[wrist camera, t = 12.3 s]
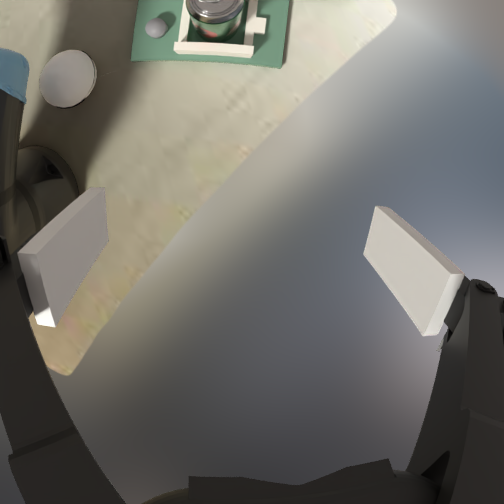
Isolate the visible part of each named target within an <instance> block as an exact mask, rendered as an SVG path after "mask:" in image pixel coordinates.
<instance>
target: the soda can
mask: <svg viewBox="0 0 504 504" xmlns="http://www.w3.org/2000/svg"><path fill="white" fill-rule="evenodd" d="M244 4H245V0H186V8H187V11H188V13H189V15H190V18H191V20H192V23H193V25H194V27H195V30H196V32H197V34H198V35H199V37H200V38H202V39H203V40H204V41H207V42H209V43H223V42H226V41H228V40H230V39H231V38H232V37H234V35H235V34H236V33H237V31H238V28H239V24H240V20H241V16H242V12H243V8H244Z"/></svg>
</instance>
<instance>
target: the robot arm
mask: <svg viewBox="0 0 504 504" xmlns="http://www.w3.org/2000/svg"><path fill="white" fill-rule="evenodd" d="M28 76H29V63H28V61H27V59H26V58H25V57H24V56H23V55H22V54H20V53H18V52H15V51H12V50H8V49H4V48H0V413H1V416H2V420H3V423H4V426H5V429H6V432H7V435H8V438H9V441H10V444H11V446H12V450H13V454H11V455H9V459H8V460H9V464H10V467H11V470H12V473H13V476H14V478H15V481H16V483H17V485H18V488H19V490H20V492H21V494H22V496H23V498H24V501H25V503H26V504H126V503H125V501H124V500H123V499H122V497H121V496H120V495H119V493H118V492H117V491H116V489H115V488H114V486H113V485H112V484H111V482H110V481H109V479H108V478H107V476H106V475H105V473H104V472H103V471H102V469H101V467H100V466H99V464H98V463H97V461H96V460H95V459H94V457H93V455H92V453H91V452H90V450H89V448H88V447H87V445H86V444H85V442H84V440H83V438H82V436H81V435H80V433H79V431H78V429H77V428H76V426H75V424H74V422H73V420H72V419H71V416H70V415H69V413H68V411H67V409H66V407H65V405H64V403H63V401H62V399H61V397H60V395H59V393H58V390H57V388H56V386H55V384H54V382H53V380H52V377H51V375H50V373H49V371H48V368H47V366H46V364H45V361H44V359H43V356H42V354H41V351H40V349H39V346H38V344H37V341H36V338H35V336H34V333H33V330H32V327H31V325H30V322H29V319H28V318H29V316H30V315H31V313H32V312H34V315H35V318H36V321H37V324H39V325H45V326H51V327H56V326H57V324H58V322H59V320H60V318H61V317H62V315H63V313H64V311H65V310H66V308H67V306H68V304H69V303H70V301H71V299H72V298H73V296H74V294H75V293H76V291H77V289H78V288H79V286H80V284H81V283H82V281H83V280H84V278H85V276H86V275H87V273H88V272H89V270H90V268H91V267H92V265H93V264H94V262H95V261H96V259H97V258H98V256H99V255H100V253H101V252H102V250H103V248H104V247H105V246H106V244H107V243H108V241H109V239H108V228H107V216H106V201H105V187H90V188H89V189H88V190H87V191H85V192H84V193H83V194H82V195H80V196H79V192H78V187H77V183H76V180H75V177H74V175H73V173H72V171H71V169H70V168H69V166H68V165H67V163H66V162H65V161H64V160H63V159H62V158H61V157H60V156H59V155H58V154H57V153H55V152H54V151H52V150H50V149H48V148H45V147H42V146H28V147H25V148H22V149H20V150H18V146H19V138H20V130H21V123H22V116H23V110H24V104H26V97H25V96H26V88H27V81H28ZM364 256H365V257H366V258H367V260H368V261H369V262H370V264H371V265H372V266H373V267H374V269H375V270H376V272H377V273H378V274H379V276H380V277H381V278H382V279H383V281H384V282H385V284H386V285H387V286H388V288H389V289H390V290H391V292H392V293H393V294H394V296H395V297H396V298H397V300H398V301H399V303H400V304H401V305H402V307H403V308H404V309H405V311H406V313H407V314H408V315H409V317H410V318H411V320H412V321H413V322H414V324H415V325H416V327H417V328H418V330H419V331H420V333H421V334H422V336H430V335H437V334H438V333H439V330H440V328H441V327H442V324H443V323H444V322H445V324H446V325H447V326H448V330H447V332H446V334H445V336H444V338H443V340H442V341H441V343H440V345H439V347H438V349H437V351H438V352H439V350H440V349H442V351H441V355H440V361H439V365H438V369H437V374H436V378H435V382H434V386H433V390H432V394H431V397H430V401H429V404H428V408H427V411H426V415H425V418H424V421H423V425H422V428H421V431H420V434H419V437H418V440H417V443H416V446H415V448H414V451H413V454H412V457H411V459H410V462H409V465H408V467H407V469H406V470H405V471H399V470H393V469H392V467H391V464H390V461H389V459H384V460H379V461H375V462H370V463H365V464H360V465H355V466H350V467H346V468H343V469H341V470H339V471H336V472H334V473H331V474H329V475H326V476H324V477H321V478H319V479H316V480H314V481H311V482H308V483H305V484H302V485H288V484H280V483H273V482H267V481H260V480H255V479H249V478H244V477H195V476H189V488H184V489H178V490H174V491H171V492H167V493H164V494H161V495H159V496H156V497H154V498H152V499H150V500H148V501H146V502H144V503H142V504H504V298H502V297H498V294H497V292H496V290H495V289H494V288H493V287H492V286H491V285H490V284H488V283H487V282H485V281H481V280H478V279H472V280H471V281H470V280H469V279H468V278H467V277H466V276H465V274H464V273H463V272H462V271H461V270H460V269H459V268H458V267H457V266H456V265H455V264H454V263H453V262H452V261H450V260H449V259H448V258H447V257H446V256H445V255H444V254H443V253H442V252H441V251H439V250H438V249H437V248H436V247H435V246H434V245H433V244H432V243H430V242H429V241H428V240H427V239H426V238H425V237H423V236H422V235H421V234H420V233H419V232H418V231H417V230H415V229H414V228H413V227H412V226H411V225H409V224H408V223H407V222H406V221H405V220H403V219H402V218H401V217H400V216H398V215H397V214H396V213H395V212H394V211H392V210H391V209H390V208H388V207H382V206H376V207H375V211H374V215H373V219H372V223H371V227H370V231H369V235H368V239H367V242H366V246H365V250H364Z"/></svg>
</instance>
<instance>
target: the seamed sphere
mask: <svg viewBox="0 0 504 504" xmlns="http://www.w3.org/2000/svg"><path fill="white" fill-rule="evenodd" d="M108 74H109V73H108ZM102 76H103V75H102ZM96 78H97V74H96V66H95V63H94V61H93V60H92V59H91V58H90V56H89V55H88V54H87V53H85V52H84V51H80V50H67V51H63V52H60V53H58V54H56V55H55V56H53V57H52V58H51V59H50V60H49V61H48V62H47V64H46V65H45V66H44V68H43V70H42V72H41V75H40V79H39V87H40V90H41V94H42V96H43V97H44V98H45V100H46V101H47V102H48V103H50V104H51V105H53V106H55V107H58V108H63V109H66V108H72V107H75V106H77V105H78V104H80V103H81V102H83V101H84V100H85V98H86V97H87V96H88V95H89V94H90V93H91V91H92V89H93V88H94V85H95V82H96Z"/></svg>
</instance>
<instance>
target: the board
mask: <svg viewBox="0 0 504 504" xmlns="http://www.w3.org/2000/svg"><path fill="white" fill-rule="evenodd" d="M288 7H289V0H245V4H244V8H243V12H242V16H241V20H240V24H239V28H238V31H237V33H236V34H235V35H234V37H232V38H231V39H230V40H228V41H226V42H223V43H209V42H207V41H204V40H203V39H202V38H200V37H199V35H198V34H197V32H196V30H195V27H194V25H193V23H192V20H191V18H190V15H189V13H188V11H187V8H186V0H139V1H138V7H137V13H136V20H135V27H134V35H133V43H132V52H131V61H132V62H139V61H199V62H219V63H233V64H244V65H254V66H263V67H271V68H278V69H280V68H281V67H282V58H283V50H284V41H285V33H286V24H287V16H288Z"/></svg>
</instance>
